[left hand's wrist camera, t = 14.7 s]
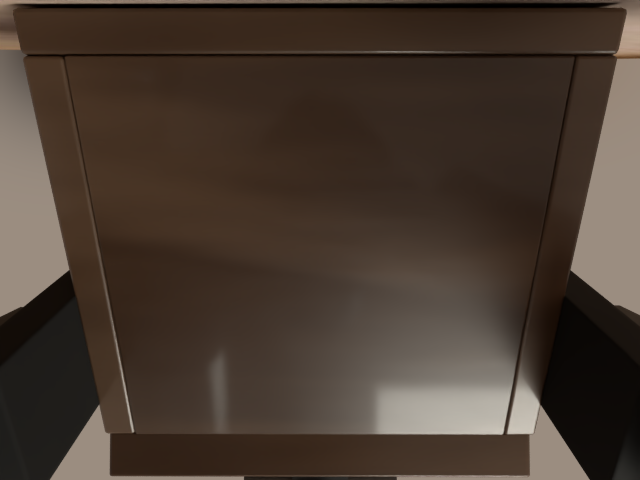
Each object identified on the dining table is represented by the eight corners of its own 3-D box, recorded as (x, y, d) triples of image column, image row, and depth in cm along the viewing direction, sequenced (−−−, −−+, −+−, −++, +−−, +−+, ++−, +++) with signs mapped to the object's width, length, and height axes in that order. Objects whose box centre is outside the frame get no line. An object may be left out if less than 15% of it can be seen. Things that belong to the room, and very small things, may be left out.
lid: (404, 323, 26) (405, 469, 26) (236, 323, 26) (235, 468, 26) (530, 432, 10) (534, 804, 10) (109, 431, 10) (104, 803, 10)
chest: (424, 47, 21) (410, 221, 24) (217, 47, 21) (230, 221, 24) (630, 6, 7) (535, 436, 10) (9, 7, 7) (104, 435, 10)
